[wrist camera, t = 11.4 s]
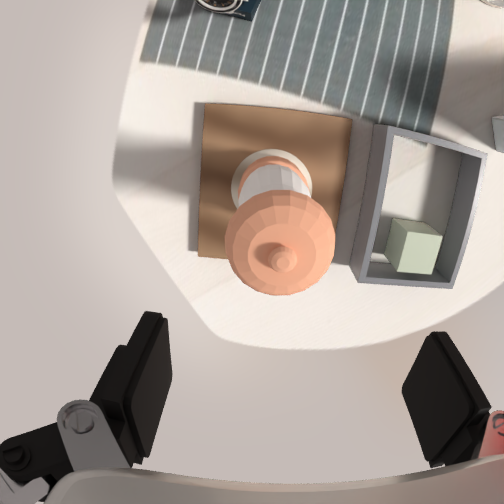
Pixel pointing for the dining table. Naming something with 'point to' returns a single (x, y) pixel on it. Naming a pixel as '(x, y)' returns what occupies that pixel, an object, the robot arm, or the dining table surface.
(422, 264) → the sage block
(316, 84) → the dining table surface
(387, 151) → the bin
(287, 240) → the pepper shaker
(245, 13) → the watch
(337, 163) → the serving board
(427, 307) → the dining table surface
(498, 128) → the skincare box
